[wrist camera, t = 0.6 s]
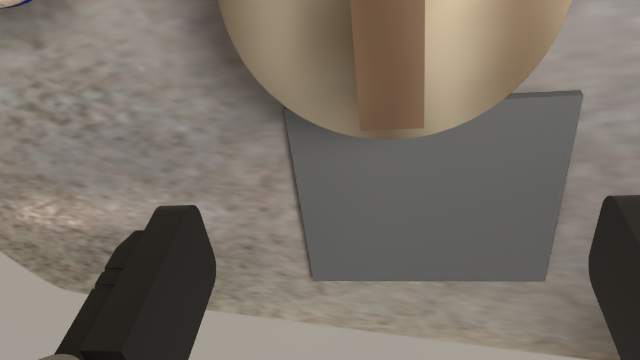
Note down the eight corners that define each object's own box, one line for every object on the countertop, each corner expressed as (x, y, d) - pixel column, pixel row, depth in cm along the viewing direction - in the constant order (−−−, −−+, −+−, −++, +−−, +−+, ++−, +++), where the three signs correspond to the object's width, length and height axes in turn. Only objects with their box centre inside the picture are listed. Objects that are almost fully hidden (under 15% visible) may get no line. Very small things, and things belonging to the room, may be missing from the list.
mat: (580, 90, 31) (583, 95, 31) (542, 275, 41) (544, 281, 40) (285, 104, 34) (283, 109, 34) (314, 275, 44) (313, 280, 43)
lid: (609, -267, 17) (701, -286, 12) (545, 123, 26) (583, 207, 21) (180, -206, 20) (106, -200, 15) (254, 134, 29) (224, 213, 23)
